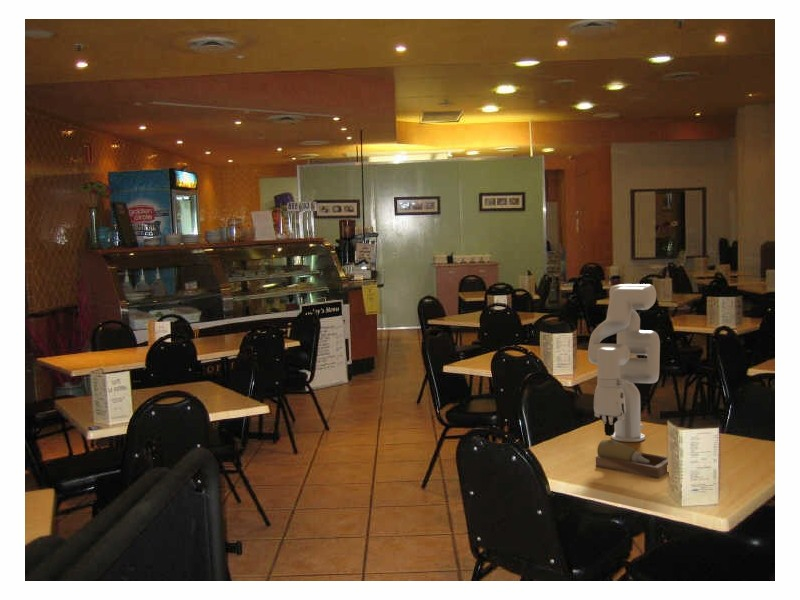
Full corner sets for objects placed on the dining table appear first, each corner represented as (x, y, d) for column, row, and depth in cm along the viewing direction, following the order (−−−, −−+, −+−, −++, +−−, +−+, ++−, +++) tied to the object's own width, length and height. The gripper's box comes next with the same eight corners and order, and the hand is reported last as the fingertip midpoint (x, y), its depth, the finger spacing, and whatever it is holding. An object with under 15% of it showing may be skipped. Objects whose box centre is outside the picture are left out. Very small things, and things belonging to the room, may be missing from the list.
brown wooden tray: (613, 457, 269) (613, 448, 268) (674, 468, 254) (674, 458, 254) (595, 466, 259) (595, 456, 259) (657, 478, 244) (657, 468, 244)
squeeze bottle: (598, 464, 264) (646, 479, 252) (592, 449, 260) (641, 463, 247) (609, 447, 268) (656, 461, 255) (603, 432, 264) (651, 445, 251)
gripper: (633, 383, 258) (634, 435, 259) (594, 379, 268) (595, 429, 269) (624, 387, 252) (624, 440, 254) (583, 382, 262) (584, 434, 264)
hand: (609, 434), depth 262 cm, fingers closed
